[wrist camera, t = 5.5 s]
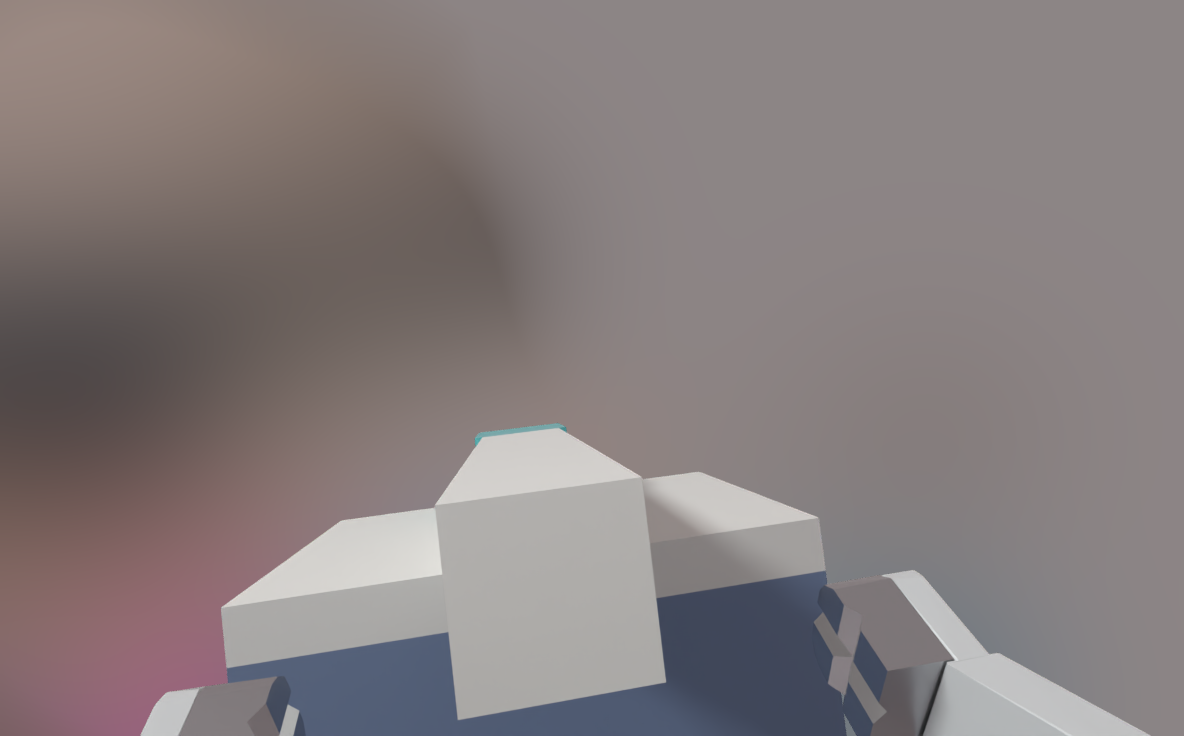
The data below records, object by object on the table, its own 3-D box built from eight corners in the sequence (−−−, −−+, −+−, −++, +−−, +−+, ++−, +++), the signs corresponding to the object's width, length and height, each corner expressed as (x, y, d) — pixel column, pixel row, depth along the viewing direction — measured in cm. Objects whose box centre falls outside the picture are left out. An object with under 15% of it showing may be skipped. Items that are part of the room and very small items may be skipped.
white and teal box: (686, 678, 9) (661, 474, 9) (435, 724, 9) (413, 508, 9) (565, 488, 29) (558, 423, 29) (486, 498, 29) (479, 432, 29)
